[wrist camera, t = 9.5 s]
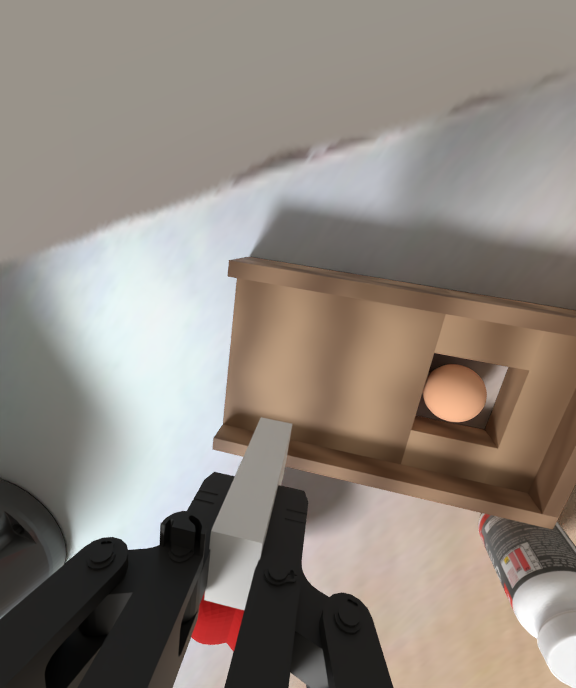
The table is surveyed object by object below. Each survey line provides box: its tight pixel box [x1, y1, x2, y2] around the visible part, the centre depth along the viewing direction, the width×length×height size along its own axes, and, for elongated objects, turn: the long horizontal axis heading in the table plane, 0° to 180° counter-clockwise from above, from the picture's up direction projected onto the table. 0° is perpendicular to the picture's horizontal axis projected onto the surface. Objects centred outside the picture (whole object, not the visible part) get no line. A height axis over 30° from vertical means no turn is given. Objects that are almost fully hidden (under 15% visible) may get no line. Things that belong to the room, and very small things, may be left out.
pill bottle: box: [478, 513, 576, 688], centre depth 24 cm, size 6×6×10 cm
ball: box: [423, 364, 487, 422], centre depth 24 cm, size 4×4×4 cm
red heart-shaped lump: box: [191, 592, 244, 651], centre depth 28 cm, size 9×7×10 cm
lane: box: [213, 257, 576, 530], centre depth 24 cm, size 24×14×4 cm, turn 81°
